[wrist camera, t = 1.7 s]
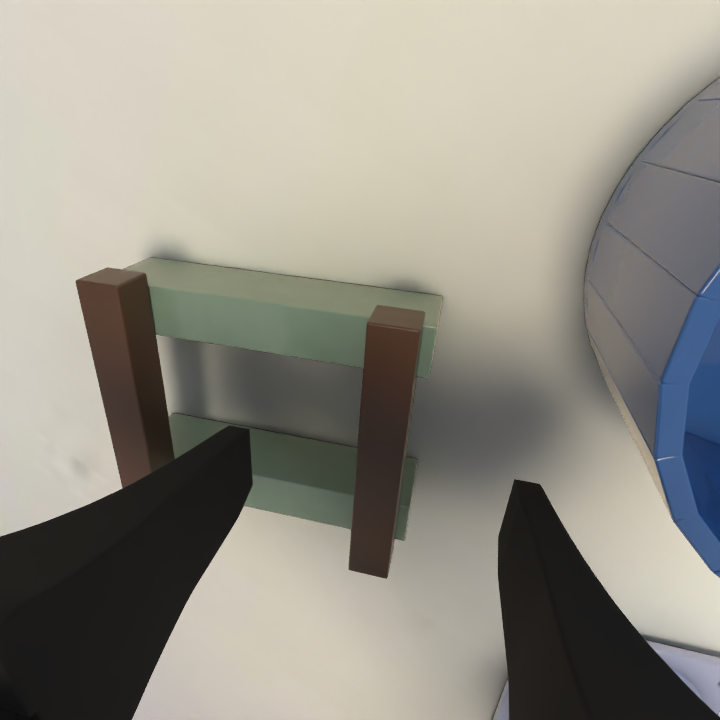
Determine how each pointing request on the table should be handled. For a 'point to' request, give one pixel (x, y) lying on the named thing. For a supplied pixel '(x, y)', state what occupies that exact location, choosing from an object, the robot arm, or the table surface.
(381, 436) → the chopstick
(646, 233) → the blue round bowl
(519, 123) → the table surface
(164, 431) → the chopstick
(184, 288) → the miniature wooden rack
